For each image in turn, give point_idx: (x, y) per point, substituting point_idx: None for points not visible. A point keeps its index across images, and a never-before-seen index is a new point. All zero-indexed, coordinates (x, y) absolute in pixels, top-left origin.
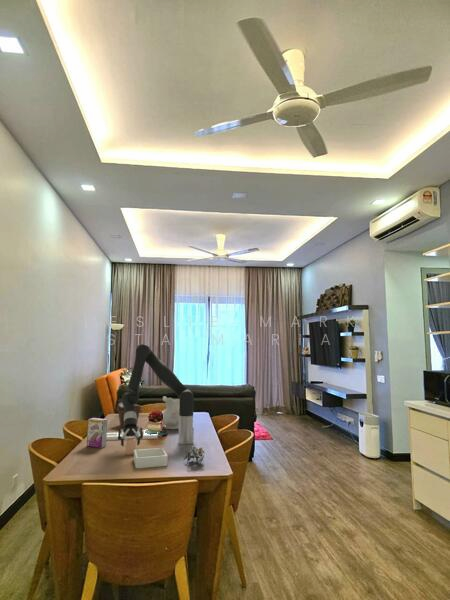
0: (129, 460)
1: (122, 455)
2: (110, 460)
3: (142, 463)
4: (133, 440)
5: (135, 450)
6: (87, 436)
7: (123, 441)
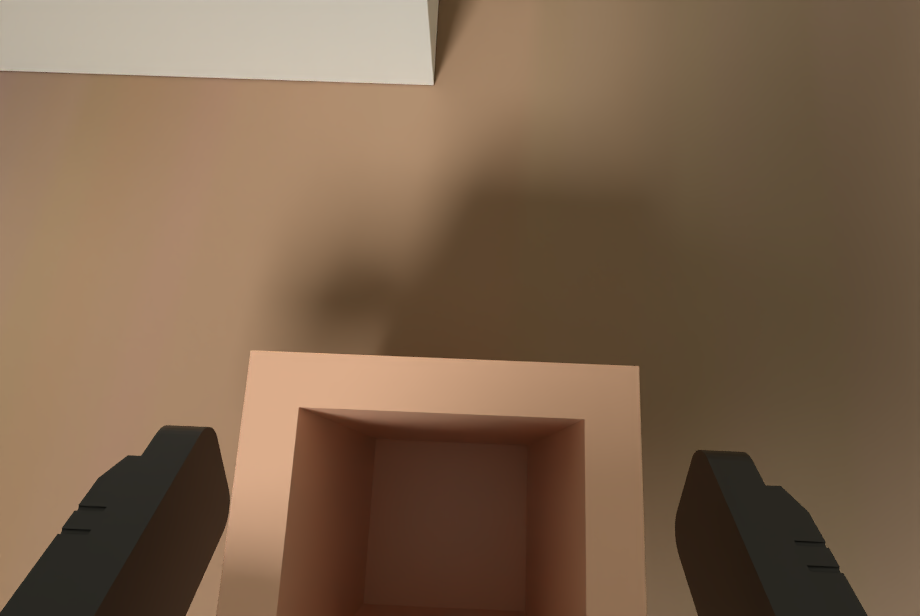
0: (511, 46)
1: None
2: (856, 138)
3: None
4: (346, 357)
5: None
6: None
7: (746, 527)
